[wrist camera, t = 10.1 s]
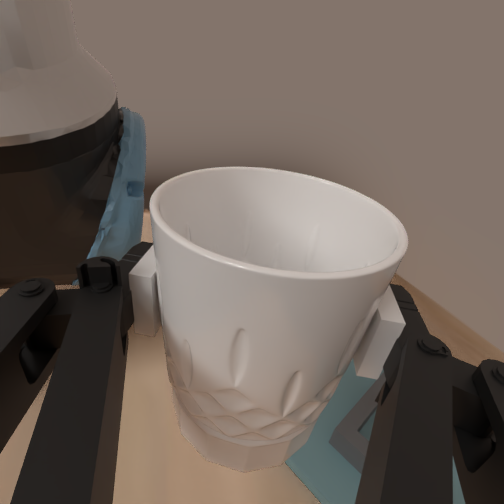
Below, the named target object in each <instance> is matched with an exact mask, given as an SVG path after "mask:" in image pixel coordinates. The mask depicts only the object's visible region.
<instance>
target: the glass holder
mask: <svg viewBox="0 0 504 504" xmlns="http://www.w3.org/2000/svg"><path fill="white" fill-rule="evenodd" d="M385 380H386V377H385V374H384V370H382V372H381V374H380V376H379V378H378V379H372V378H367V377H362V376H356V371H355V366H354V360H353V359H352V361H351V363H350V365H349V367H348V369H347V370H346V372H345V374H344V375H343V376H342V378H341V380H340V382H339V384H338V386H337V388H336V390H335V392H334V394H333V396H332V398H331V399H330V401H329V402H328V404H327V405H326V407H325V408H324V409H323V411H322V412H321V414H320V415H319V417H318V419H317V421H316V424H315V426H314V428H313V430H312V432H311V434H310V436H309V439H308V441H307V442H306V444H305V445H303V446H302V447H301V448H300V449H299V450H298V451H297V452H295V453H294V454H293V455H292V456H291V457H290V458H288V459H287V460H286V461H285V463H286V464H287V465H288V466H289V467H290V469H291V470H292V471H293V472H294V473H295V474H296V475H297V476H298V478H299V479H300V480H301V481H302V482H303V483H304V484H305V485H306V487H307V488H308V489H309V490H310V491H311V492H312V493H313V494H314V496H315V497H316V498H317V499H318V500H319V501H320V502H321V503H322V504H355V500H356V496H357V492H358V487H359V483H360V479H361V474H362V470H363V466H364V462H365V457H366V453H367V449H368V444H369V440H370V436H371V431H372V427H373V423H374V418H375V414H376V410H377V406H378V403H377V402H375V399H376V397H377V396H378V394H379V392H380V390H381V388H382V386H383V384H384V382H385ZM453 504H465V500H464V497H463V493H462V489H461V485H460V481H459V478H458V474H457V470H456V466H455V462H454V459H453Z"/></svg>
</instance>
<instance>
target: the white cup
mask: <svg viewBox="0 0 504 504" xmlns="http://www.w3.org/2000/svg"><path fill="white" fill-rule="evenodd" d="M150 216H151V226H152V235H153V245H154V255H155V265H156V275H157V286H158V296H159V306H160V316H161V325H162V329H163V339H164V346H165V355H166V362H167V370H168V376H169V380H170V383H171V388H172V400H173V405H174V409H175V412H176V416H177V420H178V424H179V427H180V431H181V434H182V435H183V436H184V437H185V439H186V440H187V441H188V442H189V443H190V444H191V445H192V446H193V447H194V448H195V449H196V450H197V451H198V452H199V453H200V454H201V455H202V456H203V457H204V458H205V459H206V460H207V461H209V462H212V463H215V464H218V465H221V466H224V467H227V468H231V469H234V470H237V471H240V472H243V473H244V472H250V471H255V470H260V469H266V468H271V467H276V466H280V465H282V464H283V463H284V462H285V461H286V460H287V459H288V458H290V457H291V456H292V455H293V454H294V453H295V452H297V451H298V450H299V449H300V448H301V447H302V446H303V445H305V444H306V442H307V441H308V439H309V436H310V434H311V432H312V430H313V428H314V426H315V424H316V421H317V419H318V417H319V415H320V414H321V412H322V411H323V409H324V408H325V407H326V405H327V404H328V402H329V401H330V399H331V398H332V396H333V394H334V392H335V390H336V388H337V386H338V384H339V382H340V380H341V378H342V376H343V375H344V374H345V372H346V370H347V369H348V367H349V365H350V363H351V361H352V359H353V357H354V355H355V353H356V351H357V348H358V346H359V344H360V342H361V340H362V338H363V336H364V334H365V332H366V330H367V328H368V326H369V324H370V322H371V320H372V318H373V316H374V314H375V312H376V310H377V308H378V306H379V304H380V302H381V300H382V298H383V296H384V294H385V292H386V290H387V288H388V286H389V284H390V282H391V280H392V278H393V276H394V274H395V272H396V270H397V268H398V266H399V264H400V262H401V260H402V258H403V256H404V254H405V252H406V250H407V247H408V235H407V232H406V230H405V228H404V226H403V225H402V223H401V222H400V221H399V220H398V219H397V217H396V216H395V215H394V214H393V213H391V212H390V211H389V210H388V209H386V208H385V207H384V206H382V205H381V204H379V203H378V202H376V201H375V200H373V199H371V198H369V197H367V196H365V195H363V194H361V193H359V192H357V191H355V190H353V189H350V188H348V187H345V186H342V185H340V184H337V183H334V182H330V181H327V180H324V179H321V178H317V177H313V176H309V175H305V174H300V173H295V172H290V171H283V170H277V169H268V168H257V167H218V168H208V169H201V170H196V171H192V172H188V173H184V174H181V175H178V176H176V177H173V178H171V179H169V180H168V181H166V182H164V183H163V184H161V185H160V186H159V187H158V188H157V189H156V190H155V191H154V193H153V194H152V196H151V199H150Z"/></svg>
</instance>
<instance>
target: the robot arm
mask: <svg viewBox="0 0 504 504" xmlns="http://www.w3.org/2000/svg"><path fill="white" fill-rule="evenodd" d="M145 170H146V133H145V124H144V120H143V118H142V117H141V115H140V114H138V113H136V112H132V111H130V110H129V109H128V108H127V109H126V108H125V107H121V108H120V109H118V101H117V92H116V85H115V82H114V80H113V77H112V76H111V74H110V73H109V72H108V71H107V70H106V69H105V68H104V67H103V66H102V65H101V64H100V63H99V62H98V61H97V60H96V59H95V58H94V57H93V56H92V55H90V54H89V53H88V52H87V51H86V50H85V49H84V48H83V47H82V46H81V45H80V43H79V41H78V39H77V34H76V28H75V22H74V17H73V11H72V6H71V0H0V289H6V288H10V289H9V290H8V291H7V292H5V293H4V294H3V295H2V296H1V297H0V453H1V452H2V450H3V448H4V447H5V445H6V444H7V442H8V440H9V439H10V437H11V436H12V434H13V433H14V431H15V429H16V428H17V426H18V425H19V423H20V422H21V420H22V418H23V417H24V415H25V414H26V412H27V410H28V409H29V407H30V406H31V404H32V403H33V401H34V399H35V398H36V396H37V395H38V393H39V391H40V390H41V388H42V387H43V385H44V384H45V382H46V380H47V379H48V377H49V376H50V374H51V373H52V371H53V373H52V376H51V379H50V382H49V385H48V388H47V391H46V395H45V398H44V401H43V404H42V407H41V410H40V413H39V416H38V419H37V422H36V425H35V429H34V432H33V435H32V438H31V441H30V444H29V447H28V450H27V453H26V456H25V459H24V463H23V466H22V469H21V472H20V475H19V478H18V481H17V484H16V487H15V490H14V493H13V497H12V500H11V503H10V504H112V502H113V492H114V482H115V472H116V461H117V451H118V441H119V431H120V421H121V411H122V400H123V390H124V380H125V370H126V360H127V350H128V340H129V339H128V330H129V328H130V327H131V325H132V324H133V323H134V333H136V334H141V335H147V336H152V337H154V336H155V335H156V333H157V331H158V329H159V327H160V325H161V316H160V306H159V296H158V286H157V275H156V265H155V255H154V245H153V243H148V242H141V235H142V225H143V212H144V193H143V189H144V180H145V179H144V178H145ZM70 284H71V285H79V286H80V289H65V290H56V288H55V285H70ZM353 360H354V366H355V371H356V376H362V377H367V378H372V379H378V378H379V376H380V374H381V372H382V370H384V374H385V377H386V380H385V382H384V384H383V386H382V388H381V390H380V392H379V394H378V396H377V397H376V399H375V402H377V403H378V406H377V410H376V414H375V418H374V423H373V427H372V431H371V436H370V440H369V444H368V449H367V453H366V457H365V462H364V466H363V470H362V474H361V479H360V483H359V487H358V492H357V496H356V500H355V504H453V459H454V462H455V466H456V470H457V474H458V478H459V481H460V485H461V489H462V493H463V497H464V500H465V504H504V363H502V362H500V361H497V360H491V359H487V360H483V361H482V362H481V364H480V365H479V366H478V367H476V366H473V365H471V364H469V363H466V362H464V361H461V360H459V359H456V358H454V357H452V355H451V351H450V350H449V348H448V347H447V346H446V344H444V343H443V342H442V341H441V340H439V339H438V338H436V337H434V336H432V335H430V334H429V332H428V330H427V327H426V325H425V323H424V321H423V319H422V317H421V315H420V313H419V312H418V309H417V307H416V305H414V301H413V299H412V297H411V295H410V294H409V293H408V292H407V291H406V290H405V289H404V288H403V287H402V286H399V285H394V284H389V286H388V288H387V290H386V292H385V294H384V296H383V298H382V300H381V302H380V304H379V306H378V308H377V310H376V312H375V314H374V316H373V318H372V320H371V322H370V324H369V326H368V328H367V330H366V332H365V334H364V336H363V338H362V340H361V342H360V344H359V346H358V348H357V351H356V353H355V355H354V357H353ZM53 369H54V370H53Z"/></svg>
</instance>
